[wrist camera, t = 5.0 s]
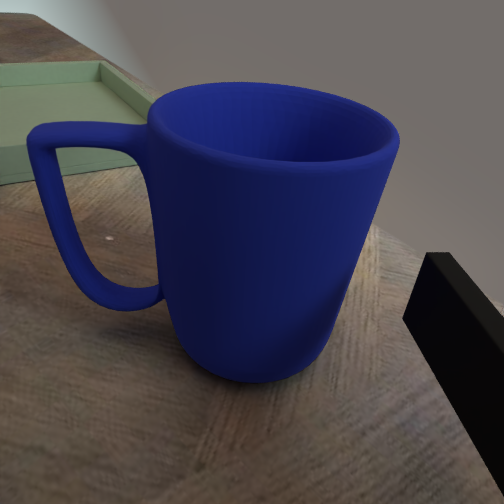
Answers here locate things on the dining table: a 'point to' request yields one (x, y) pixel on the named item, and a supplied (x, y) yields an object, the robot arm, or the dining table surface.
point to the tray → (64, 112)
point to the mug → (238, 215)
